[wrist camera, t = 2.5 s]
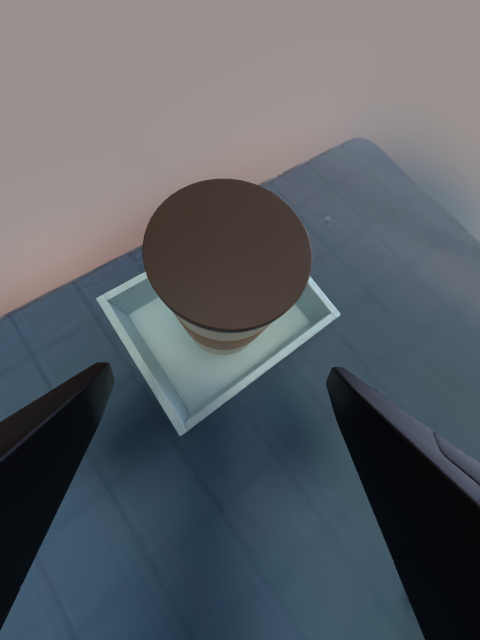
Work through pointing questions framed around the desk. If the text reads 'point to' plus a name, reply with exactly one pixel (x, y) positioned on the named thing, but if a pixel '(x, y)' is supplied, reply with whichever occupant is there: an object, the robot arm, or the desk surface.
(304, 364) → the desk surface
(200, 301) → the cup
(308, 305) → the tub
